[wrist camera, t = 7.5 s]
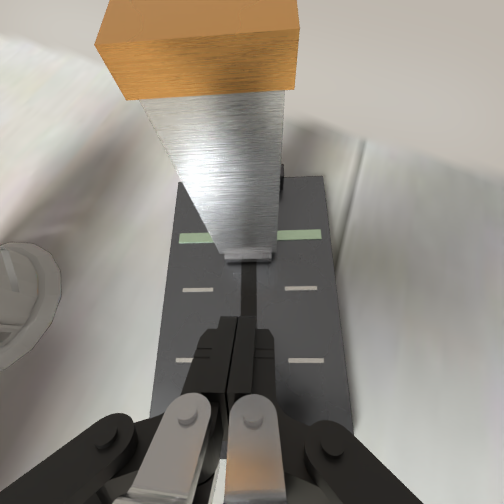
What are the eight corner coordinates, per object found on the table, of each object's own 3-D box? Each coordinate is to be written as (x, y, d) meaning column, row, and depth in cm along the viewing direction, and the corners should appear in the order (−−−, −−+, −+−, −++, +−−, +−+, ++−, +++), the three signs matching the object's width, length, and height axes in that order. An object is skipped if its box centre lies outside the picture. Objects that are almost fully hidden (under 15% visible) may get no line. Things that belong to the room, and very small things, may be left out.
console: (183, 191, 21) (171, 168, 18) (319, 185, 20) (327, 161, 18) (155, 439, 15) (130, 458, 12) (349, 444, 14) (366, 465, 12)
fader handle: (221, 204, 18) (130, -61, 7) (276, 202, 18) (288, -78, 6) (218, 262, 17) (91, 51, 5) (279, 261, 17) (300, 34, 5)
